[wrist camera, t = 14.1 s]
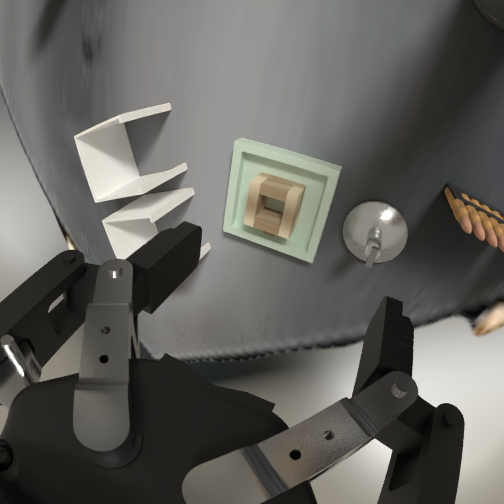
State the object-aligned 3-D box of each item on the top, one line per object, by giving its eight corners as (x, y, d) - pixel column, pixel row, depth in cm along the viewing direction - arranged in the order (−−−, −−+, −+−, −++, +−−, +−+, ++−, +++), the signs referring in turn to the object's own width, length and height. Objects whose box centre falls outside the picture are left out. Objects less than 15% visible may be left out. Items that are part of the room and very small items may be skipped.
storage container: (122, 120, 49) (73, 136, 40) (170, 102, 44) (119, 114, 35) (163, 248, 59) (126, 280, 51) (211, 248, 55) (175, 284, 46)
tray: (241, 137, 42) (234, 140, 41) (342, 166, 39) (340, 171, 37) (229, 224, 50) (222, 230, 49) (315, 256, 47) (312, 263, 45)
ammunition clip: (441, 194, 35) (457, 237, 26) (446, 182, 34) (466, 220, 25) (503, 227, 33) (531, 276, 24) (509, 216, 32) (539, 262, 22)
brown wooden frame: (261, 171, 43) (250, 180, 40) (306, 185, 42) (298, 195, 38) (253, 221, 48) (241, 233, 45) (293, 235, 46) (285, 249, 43)
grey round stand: (354, 190, 40) (347, 211, 34) (417, 214, 38) (421, 239, 32) (335, 247, 45) (325, 274, 39) (392, 268, 43) (391, 298, 37)
